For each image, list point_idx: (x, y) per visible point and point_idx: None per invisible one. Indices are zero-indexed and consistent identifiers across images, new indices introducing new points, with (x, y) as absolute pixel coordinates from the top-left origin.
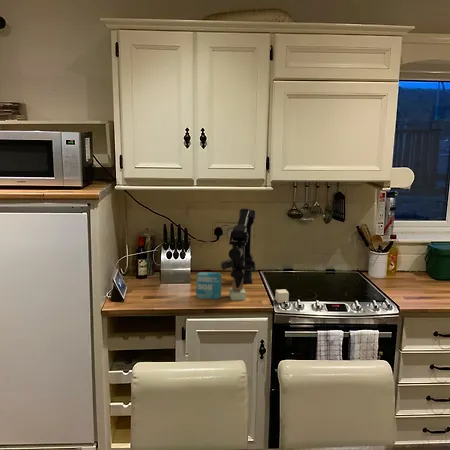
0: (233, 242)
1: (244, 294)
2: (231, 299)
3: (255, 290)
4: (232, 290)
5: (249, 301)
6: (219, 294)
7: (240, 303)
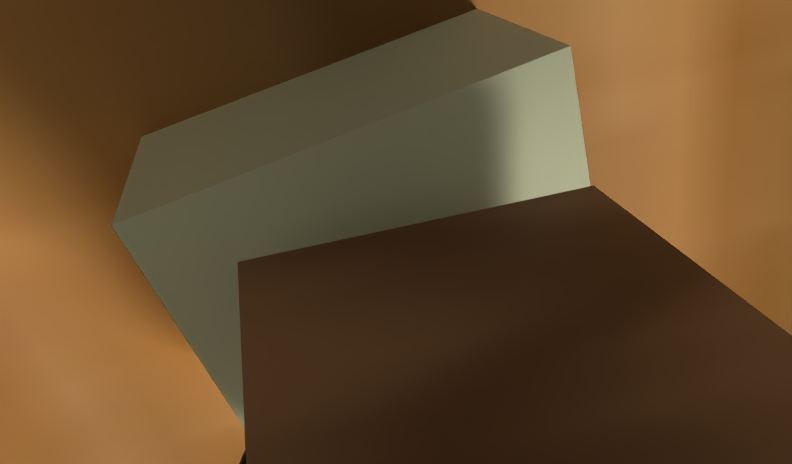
0: None
1: None
2: (140, 147)
3: None
4: (369, 192)
5: (228, 451)
6: None
7: (35, 360)
